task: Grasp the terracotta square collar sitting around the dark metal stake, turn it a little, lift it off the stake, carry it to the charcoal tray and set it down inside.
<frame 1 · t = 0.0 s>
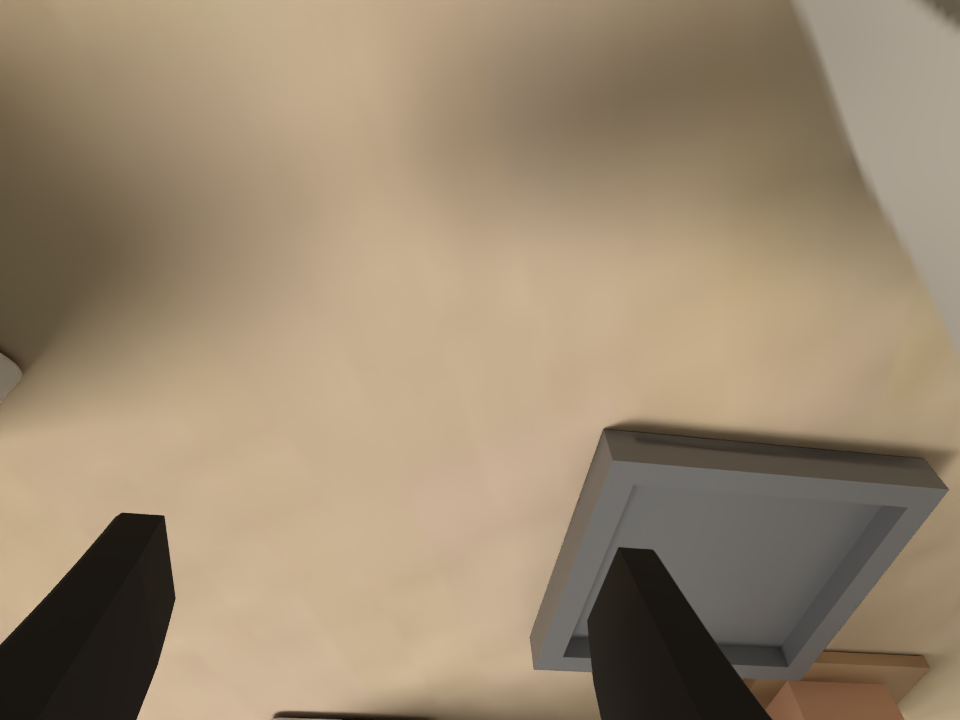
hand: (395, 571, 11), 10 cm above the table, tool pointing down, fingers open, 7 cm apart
tray: (708, 556, 28), on the table
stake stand: (808, 698, 35), on the table
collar: (813, 710, 34), point 1 cm above the table, touching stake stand
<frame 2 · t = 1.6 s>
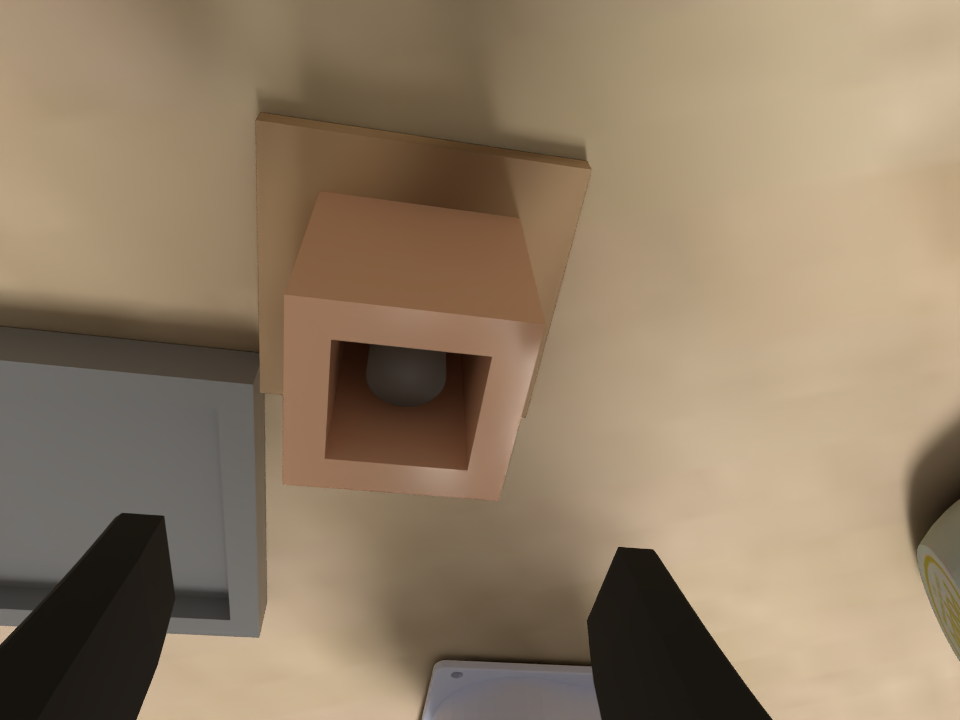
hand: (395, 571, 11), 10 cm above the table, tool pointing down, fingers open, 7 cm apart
tray: (78, 482, 23), on the table
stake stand: (411, 280, 19), on the table
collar: (410, 291, 19), point 1 cm above the table, touching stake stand
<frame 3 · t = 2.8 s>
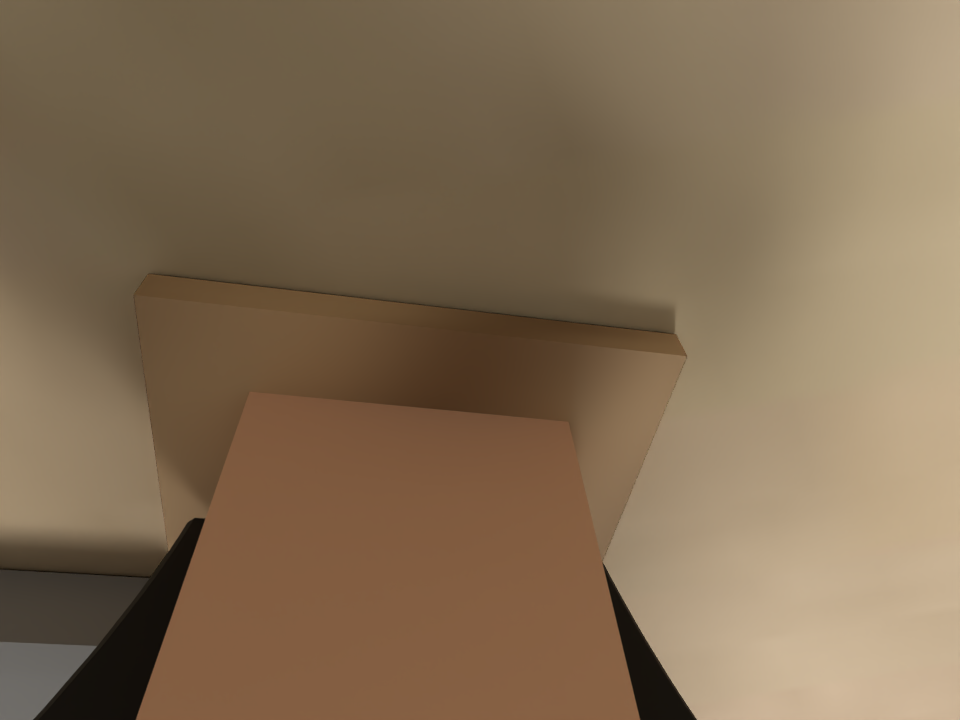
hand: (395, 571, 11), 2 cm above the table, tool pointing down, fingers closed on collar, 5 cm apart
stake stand: (399, 490, 13), on the table
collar: (398, 515, 12), point 1 cm above the table, touching gripper, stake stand
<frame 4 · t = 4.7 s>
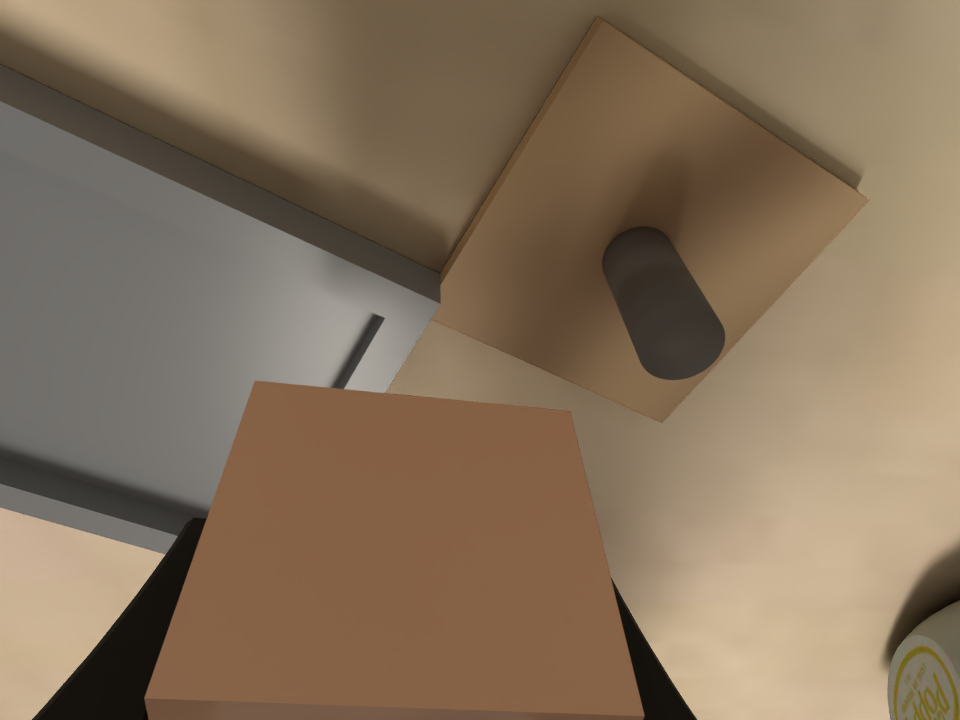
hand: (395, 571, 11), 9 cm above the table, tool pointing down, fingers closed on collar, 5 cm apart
tray: (141, 352, 19), on the table
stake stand: (632, 248, 18), on the table
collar: (401, 505, 12), point 7 cm above the table, touching gripper
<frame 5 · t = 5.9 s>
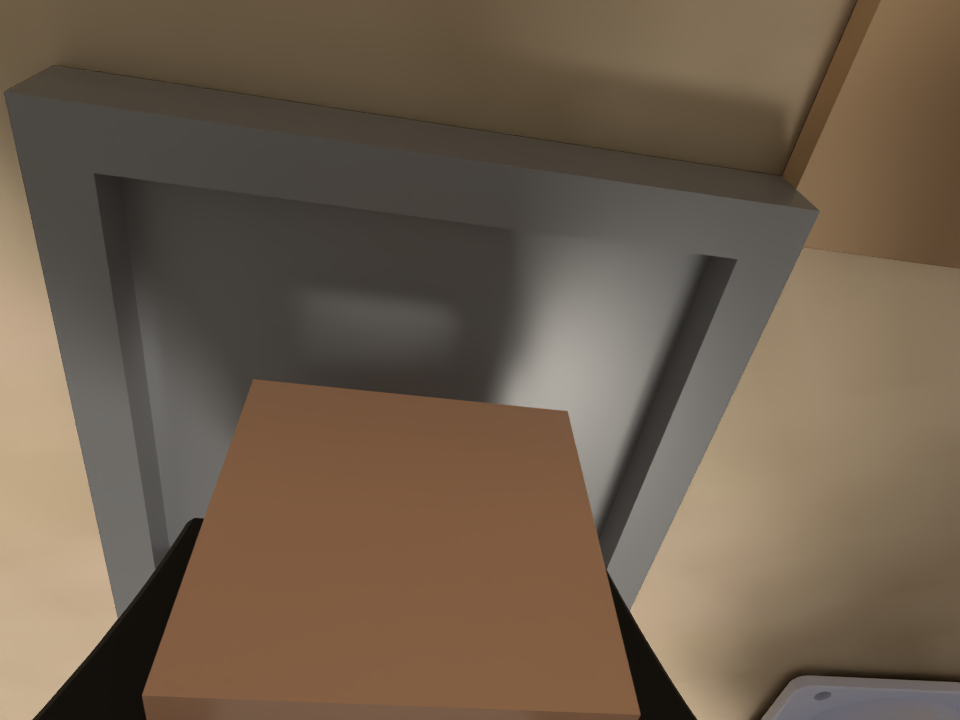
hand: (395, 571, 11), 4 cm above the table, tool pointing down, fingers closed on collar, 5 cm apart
tray: (405, 405, 15), on the table
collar: (399, 504, 12), point 3 cm above the table, touching gripper
when the fingers open (3 cm above the table, at t = 6.6 s): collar drops 1 cm, resting on tray.
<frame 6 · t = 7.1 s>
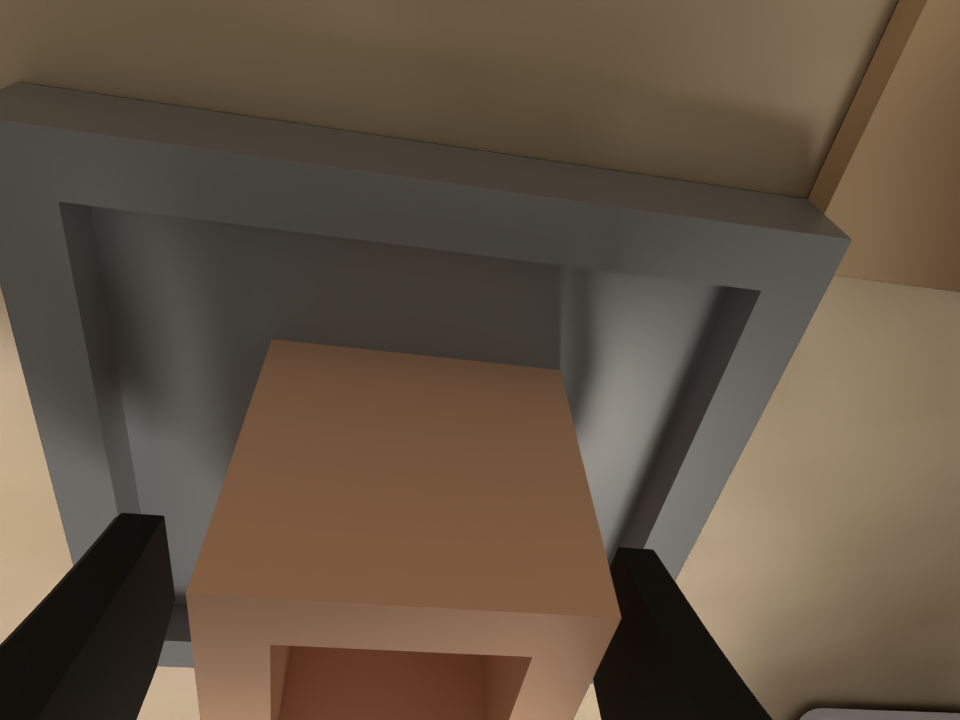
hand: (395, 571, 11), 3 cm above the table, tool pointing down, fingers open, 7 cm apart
tray: (402, 439, 14), on the table
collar: (404, 459, 13), point 1 cm above the table, touching tray
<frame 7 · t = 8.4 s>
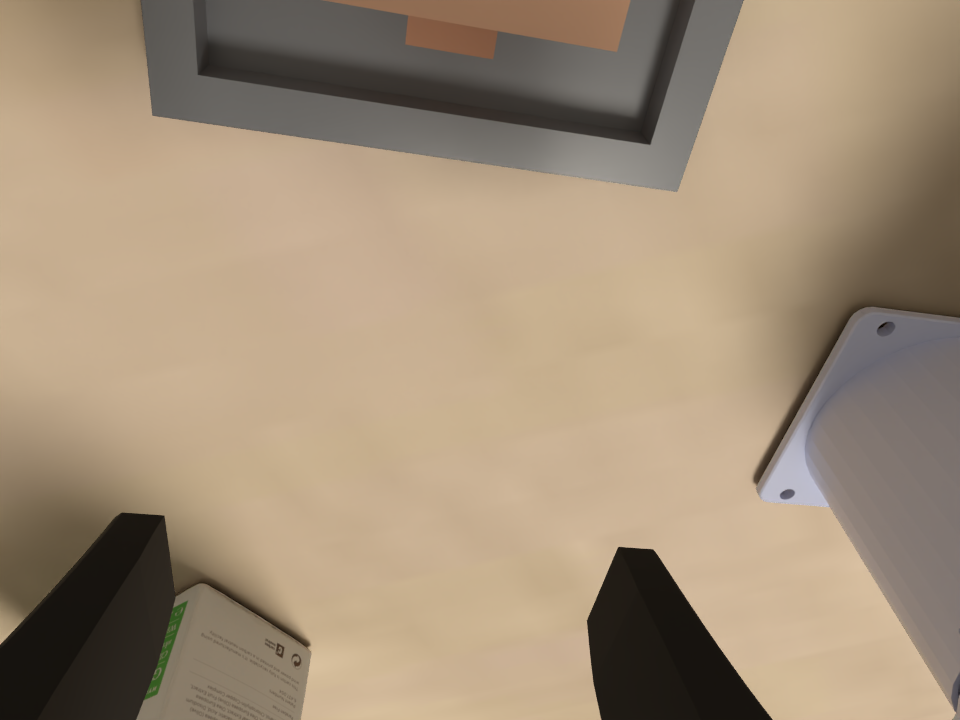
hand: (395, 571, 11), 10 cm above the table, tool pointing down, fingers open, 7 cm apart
skincare box: (196, 648, 29), on the table
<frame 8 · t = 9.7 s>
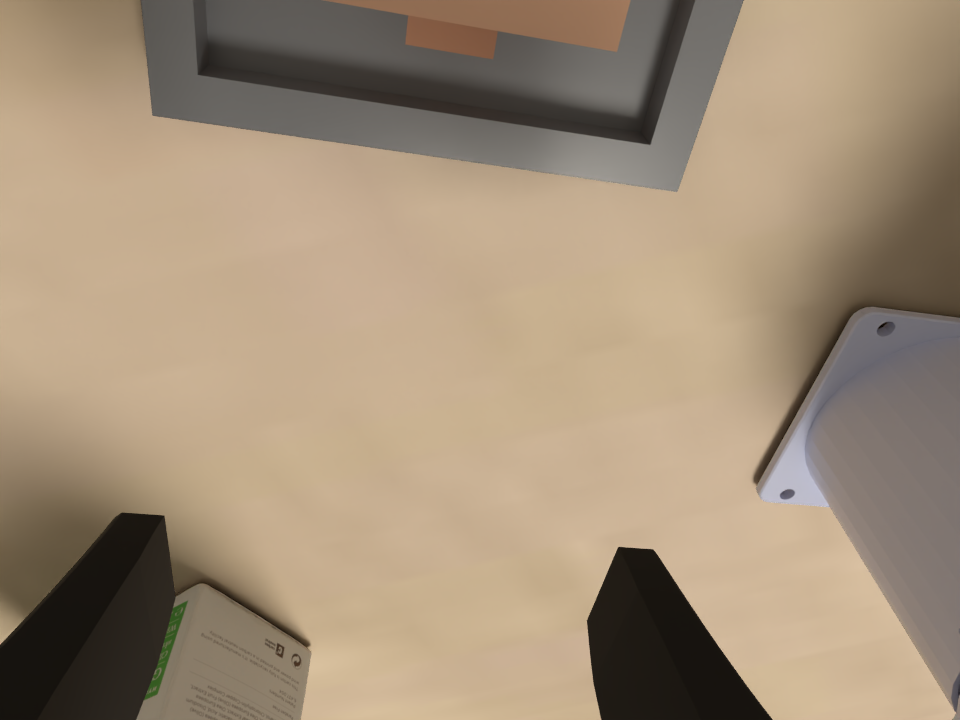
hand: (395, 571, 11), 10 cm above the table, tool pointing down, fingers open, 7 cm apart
skincare box: (196, 648, 29), on the table
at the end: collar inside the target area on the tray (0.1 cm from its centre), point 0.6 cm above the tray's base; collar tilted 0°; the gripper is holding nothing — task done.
